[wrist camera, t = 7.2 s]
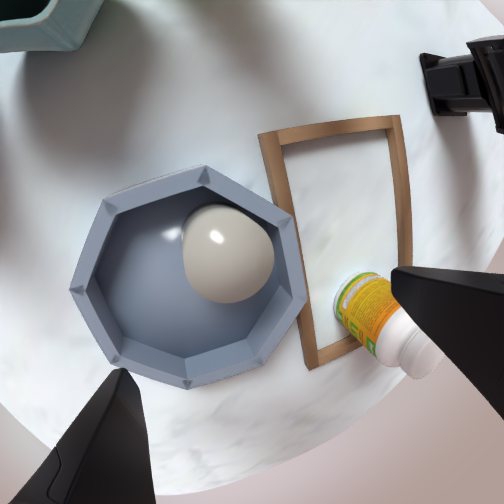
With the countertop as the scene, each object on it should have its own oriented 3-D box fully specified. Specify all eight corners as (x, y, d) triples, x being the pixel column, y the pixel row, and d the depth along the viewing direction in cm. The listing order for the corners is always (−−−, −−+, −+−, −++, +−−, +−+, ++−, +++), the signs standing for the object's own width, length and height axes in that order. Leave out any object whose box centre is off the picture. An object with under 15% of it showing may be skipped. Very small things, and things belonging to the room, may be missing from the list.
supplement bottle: (320, 308, 24) (390, 379, 15) (359, 257, 23) (445, 308, 14) (354, 331, 26) (418, 393, 17) (388, 287, 25) (462, 336, 16)
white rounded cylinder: (239, 192, 18) (263, 204, 13) (254, 256, 20) (281, 286, 15) (171, 213, 17) (171, 233, 13) (192, 276, 19) (200, 314, 14)
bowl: (261, 149, 18) (278, 147, 15) (297, 323, 23) (314, 344, 20) (61, 214, 16) (42, 225, 13) (138, 375, 21) (137, 402, 18)
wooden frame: (391, 115, 20) (399, 114, 19) (403, 315, 27) (409, 319, 26) (257, 134, 18) (262, 133, 17) (304, 364, 25) (309, 370, 24)
